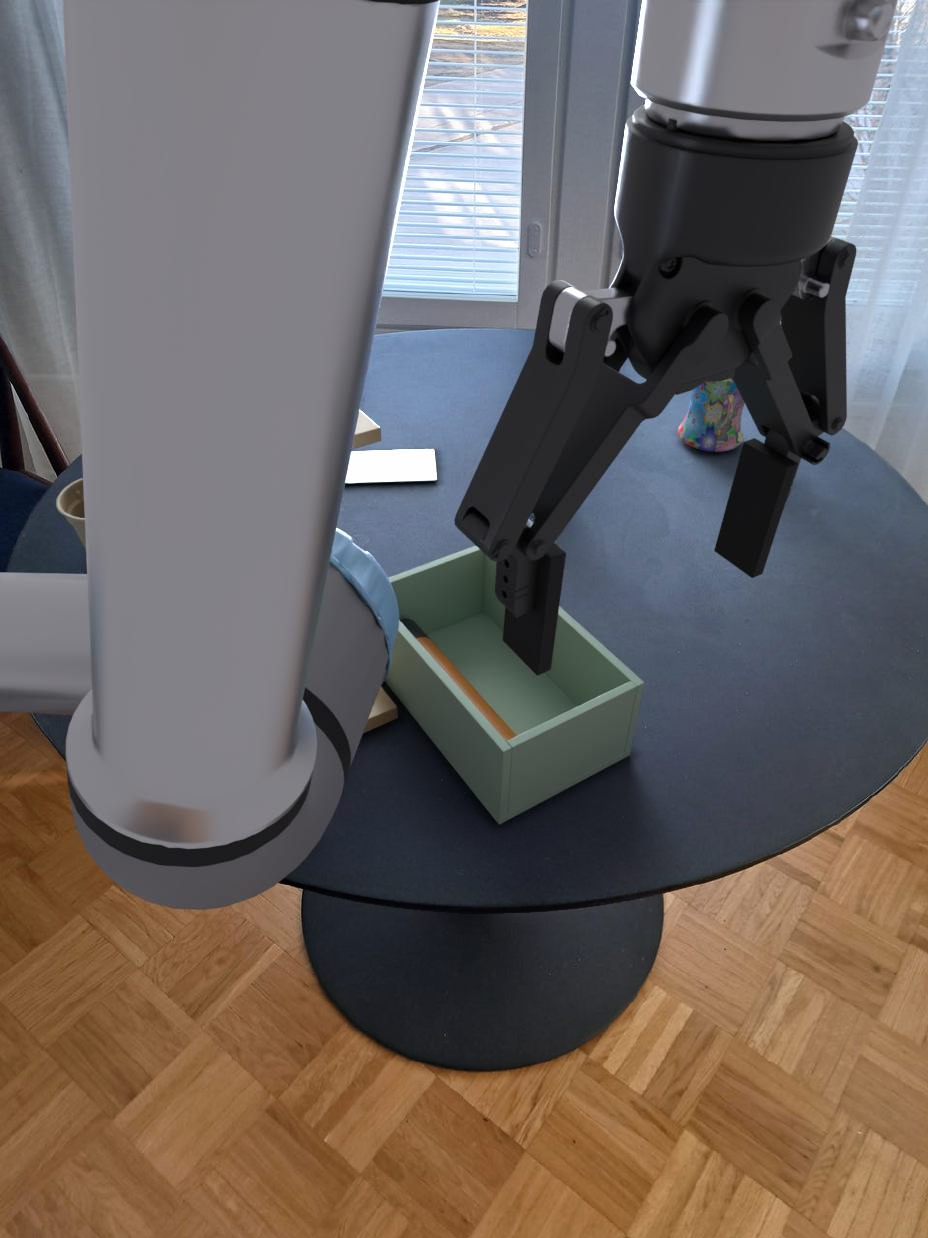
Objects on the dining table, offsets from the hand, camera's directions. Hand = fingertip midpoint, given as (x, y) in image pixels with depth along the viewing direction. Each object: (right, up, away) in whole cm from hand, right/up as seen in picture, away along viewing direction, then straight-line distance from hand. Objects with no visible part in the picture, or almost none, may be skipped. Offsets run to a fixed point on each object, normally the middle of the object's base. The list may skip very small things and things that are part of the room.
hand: (639, 606), depth 42 cm
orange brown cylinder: (-8, -8, +35) cm, 37 cm away
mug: (+24, +22, +73) cm, 80 cm away
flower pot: (-46, +5, +53) cm, 70 cm away
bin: (-6, -8, +37) cm, 38 cm away
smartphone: (-20, +18, +68) cm, 73 cm away
